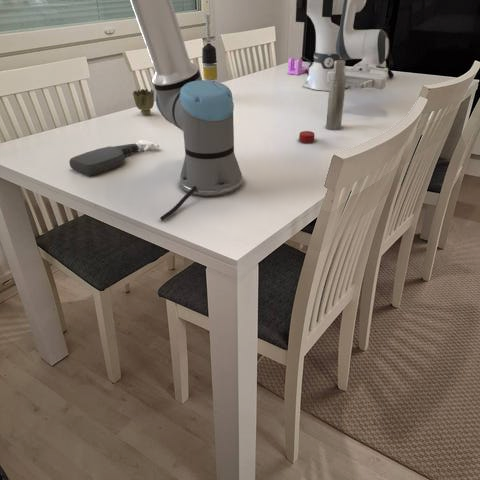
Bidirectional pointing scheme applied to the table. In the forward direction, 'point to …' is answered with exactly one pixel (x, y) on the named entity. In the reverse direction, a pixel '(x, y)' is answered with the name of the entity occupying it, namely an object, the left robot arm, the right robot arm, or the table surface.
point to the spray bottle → (106, 157)
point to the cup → (144, 100)
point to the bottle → (336, 96)
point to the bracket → (298, 68)
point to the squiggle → (390, 65)
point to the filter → (209, 57)
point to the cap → (306, 137)
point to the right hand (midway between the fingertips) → (349, 83)
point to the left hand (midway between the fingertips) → (314, 19)
